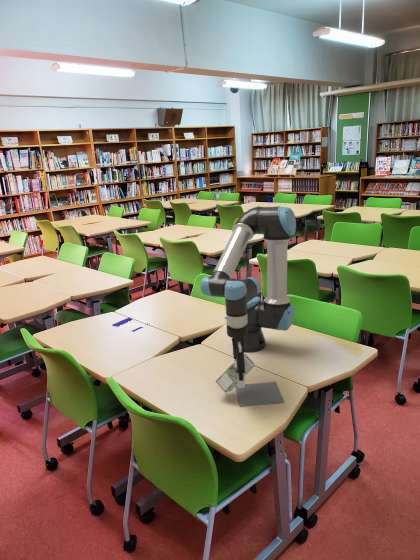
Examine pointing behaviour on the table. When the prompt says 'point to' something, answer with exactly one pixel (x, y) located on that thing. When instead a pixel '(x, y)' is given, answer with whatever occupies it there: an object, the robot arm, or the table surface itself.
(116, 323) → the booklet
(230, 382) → the syrup box
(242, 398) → the mat
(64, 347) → the table surface
